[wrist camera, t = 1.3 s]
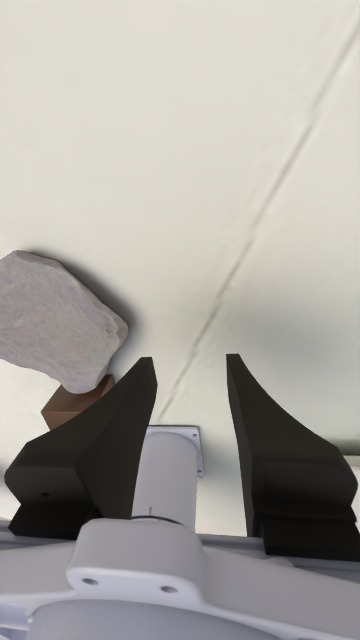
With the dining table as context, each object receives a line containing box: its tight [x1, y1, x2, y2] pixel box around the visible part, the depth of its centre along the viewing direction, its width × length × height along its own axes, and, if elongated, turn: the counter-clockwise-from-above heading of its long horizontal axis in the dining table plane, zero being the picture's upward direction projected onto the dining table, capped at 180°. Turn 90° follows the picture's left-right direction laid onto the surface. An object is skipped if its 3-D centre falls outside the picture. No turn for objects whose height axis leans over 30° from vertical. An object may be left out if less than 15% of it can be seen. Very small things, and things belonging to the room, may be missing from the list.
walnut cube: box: [41, 374, 115, 431], centre depth 24 cm, size 5×5×5 cm
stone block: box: [0, 250, 129, 394], centre depth 21 cm, size 12×5×10 cm
